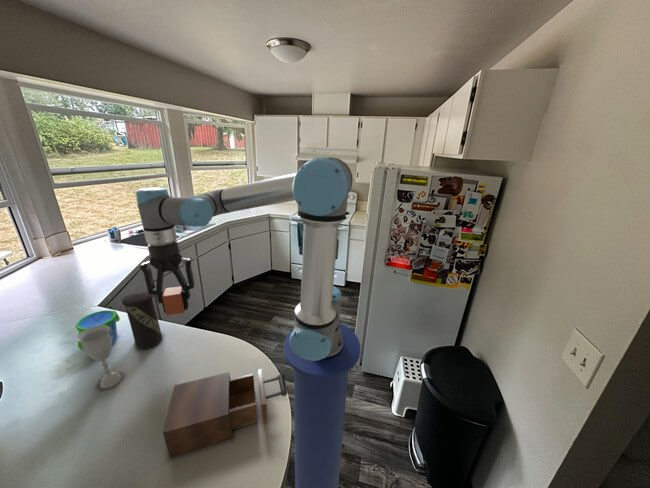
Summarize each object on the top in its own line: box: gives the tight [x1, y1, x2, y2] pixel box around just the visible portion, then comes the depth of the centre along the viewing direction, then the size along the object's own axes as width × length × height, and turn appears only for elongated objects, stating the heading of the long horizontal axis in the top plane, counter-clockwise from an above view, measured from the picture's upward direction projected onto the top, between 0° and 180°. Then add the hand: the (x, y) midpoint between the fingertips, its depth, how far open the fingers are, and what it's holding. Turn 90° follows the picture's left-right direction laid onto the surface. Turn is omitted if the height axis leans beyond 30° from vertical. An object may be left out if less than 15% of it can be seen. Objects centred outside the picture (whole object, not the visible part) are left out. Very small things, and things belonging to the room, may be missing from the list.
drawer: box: [229, 368, 288, 431], centre depth 68 cm, size 18×11×7 cm, turn 109°
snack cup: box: [75, 309, 121, 351], centre depth 89 cm, size 16×10×10 cm
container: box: [121, 289, 163, 350], centre depth 88 cm, size 9×9×20 cm
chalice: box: [76, 325, 122, 389], centre depth 73 cm, size 7×7×18 cm
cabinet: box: [162, 371, 233, 458], centre depth 64 cm, size 14×13×9 cm
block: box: [162, 285, 186, 316], centre depth 80 cm, size 5×5×7 cm
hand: (176, 308), depth 81 cm, fingers closed on block, 5 cm apart
